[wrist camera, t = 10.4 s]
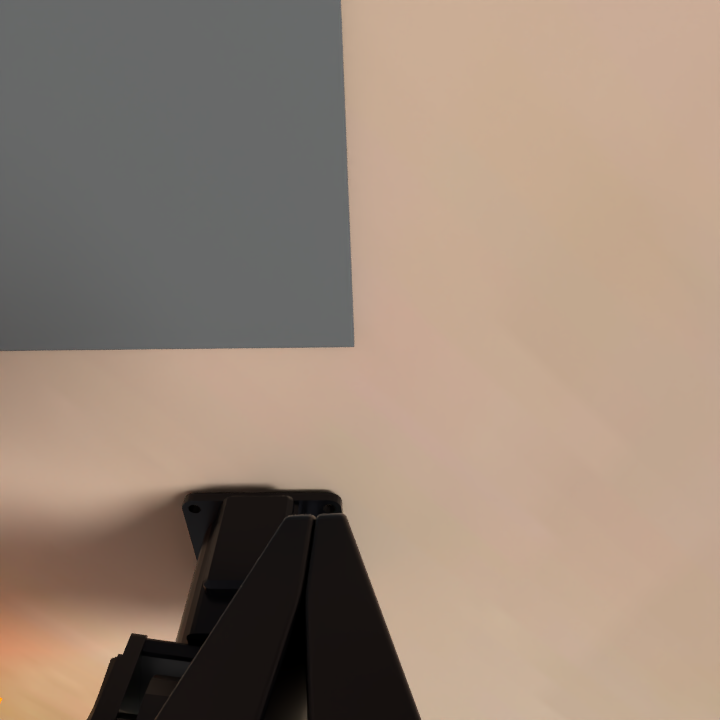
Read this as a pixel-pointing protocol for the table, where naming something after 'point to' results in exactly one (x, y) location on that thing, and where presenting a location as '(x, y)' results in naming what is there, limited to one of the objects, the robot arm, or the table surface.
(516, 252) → the table surface
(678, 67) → the table surface
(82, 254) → the runner mat
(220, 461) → the table surface
